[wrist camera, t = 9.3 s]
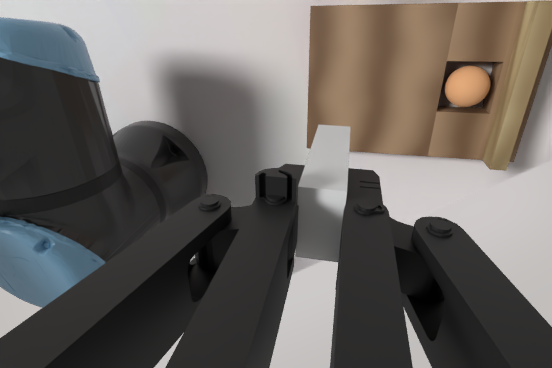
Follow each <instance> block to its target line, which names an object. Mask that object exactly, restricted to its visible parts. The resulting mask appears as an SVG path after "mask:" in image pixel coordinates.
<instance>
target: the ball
mask: <svg viewBox="0 0 552 368" xmlns="http://www.w3.org/2000/svg"><path fill="white" fill-rule="evenodd" d="M489 89H490V78H489V76H488V74H487V73H486V71H485V70H483V69H482V68H480V67H477V66H464V67H461V68H459V69H457V70H455V71H454V72H453V73H452V74H451V75H450V76H449V77H448V79H447V81H446V84H445V94H446V97H447V98H448V100H449V101H450V102H451V103H453V104H454V105H457V106H460V107H469V106H473V105H475V104H477V103H479V102H480V101H482V100H483V99H484V98H485V97H486V95H487V94H488V92H489Z"/></svg>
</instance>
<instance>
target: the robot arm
mask: <svg viewBox="0 0 552 368" xmlns="http://www.w3.org/2000/svg"><path fill="white" fill-rule="evenodd" d="M98 82H100V80H99V77H98V76H97V75H96V74H95V71H94V68H93V65H92V62H91V59H90V56H89V54H88V51H87V47H86V44H85V42H84V41H83V39H82V38H81V36H80V35H79V34H78V33H77V32H75V31H74V30H72V29H71V28H69V27H67V26H64V25H61V24H56V23H50V22H42V21H33V20H24V19H13V18H1V17H0V287H1V288H3V289H4V290H6V291H7V292H9V293H11V294H12V295H14V296H16V297H18V298H19V299H21V300H23V301H26V302H28V303H30V304H33V305H36V306H39V307H42V309H41V310H39V311H38V312H36V313H35V314H34V315H32V316H31V317H29V318H28V319H27V320H25V321H24V322H22V323H21V324H20V325H18V326H17V327H15V328H14V329H13V330H11V331H10V332H8V333H7V334H6V335H4V336H3V337H1V338H0V368H154V367H155V365H156V364H157V363H158V362H159V361H160V360H161V359H162V357H163V356H164V355H165V354H166V353H167V352H168V350H169V349H170V348H171V347H172V346H173V344H174V343H175V342H176V341H177V340H178V338H179V337H180V336H181V335H182V334H183V333H184V334H183V336H182V338H181V339H180V341H179V343H178V345H177V347H176V349H175V351H174V353H173V355H172V356H171V358H170V360H169V362H168V364H167V366H166V368H269V366H270V362H271V358H272V354H273V350H274V346H275V341H276V337H277V333H278V329H279V325H280V321H281V317H282V312H283V308H284V304H285V300H286V296H287V292H288V288H289V283H290V280H291V275H292V271H293V267H294V253H295V249H296V257H303V258H311V259H318V260H325V261H333V262H338V271H337V281H336V297H335V310H334V324H333V337H332V350H331V363H330V368H413V367H412V361H411V354H410V347H409V341H408V334H407V328H406V322H405V315H404V309H403V307H404V308H405V311H406V313H407V315H408V317H409V319H410V322H411V323H412V326H413V328H414V330H415V332H416V334H417V336H418V339H419V341H420V343H421V345H422V347H423V349H424V351H425V354H426V356H427V358H428V360H429V362H430V364H431V366H432V368H552V327H551V326H550V325H549V324H548V322H547V321H546V320H545V319H544V318H543V317H542V316H541V315H540V314H539V313H538V311H537V310H536V309H535V308H534V307H533V306H532V305H531V304H530V303H529V301H528V300H527V299H526V298H525V297H524V296H523V295H522V294H521V293H520V292H519V290H518V289H517V288H516V287H515V286H514V285H513V284H512V283H511V282H510V280H509V279H508V278H507V277H506V276H505V275H504V274H503V273H502V272H501V271H500V269H499V268H498V267H497V266H496V265H495V264H494V263H493V262H492V261H491V260H490V258H489V257H488V256H487V255H486V254H485V253H484V252H483V251H482V250H481V248H480V247H479V246H478V245H477V244H476V243H475V242H474V241H473V240H472V239H471V237H470V236H469V235H468V234H467V233H466V232H465V231H464V230H463V229H462V228H461V227H460V226H458V225H457V224H455V223H453V222H451V221H449V220H447V219H444V218H440V217H422V218H420V219H418V220H416V222H415V224H414V227H413V226H410V225H407V224H404V223H401V222H398V221H396V220H394V219H392V218H391V217H389V211H388V210H387V208H386V207H385V206H384V205H383V201H382V194H381V187H380V179H379V176H378V175H377V174H376V173H375V172H374V171H373V170H362V169H350V168H348V165H349V145H350V127H349V126H333V125H318V128H317V131H316V134H315V137H314V140H313V143H312V146H311V149H310V152H309V155H308V158H307V161H306V164H305V166H304V165H293V164H285V165H283V166H281V167H280V168H271V169H265V170H262V171H260V172H258V173H257V174H256V175H255V185H256V198H255V200H254V202H253V204H252V205H250V206H244V207H232V208H231V201H230V200H229V199H228V198H226V197H224V196H221V195H215V194H211V195H205V193H206V189H207V173H206V168H205V165H204V162H203V160H202V158H201V156H200V154H199V152H198V151H197V149H196V148H195V147H194V145H193V144H192V143H191V142H190V141H189V140H188V139H187V138H186V137H185V136H184V135H183V134H181V133H180V132H179V131H177V130H175V129H174V128H172V127H170V126H168V125H165V124H162V123H159V122H154V121H140V122H135V123H133V124H130V125H128V126H126V127H124V128H122V129H120V130H119V131H117V132H116V133H115V134H114V135H112V131H111V128H110V124H109V121H108V117H107V114H106V110H105V106H104V103H103V99H102V95H101V91H100V87H99V83H98ZM204 195H205V196H204ZM194 255H195V258H194V259H193V260H192V261H191V262H190V260H191V258H192V257H193V256H194Z"/></svg>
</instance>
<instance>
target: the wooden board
mask: <svg viewBox="0 0 552 368" xmlns="http://www.w3.org/2000/svg"><path fill="white" fill-rule="evenodd" d="M551 46H552V1H528V2H481V3H433V4H385V5H337V6H311V13H310V50H309V87H308V124H307V148H311V146H312V143H313V140H314V137H315V134H316V131H317V128H318V125H333V126H349V127H350V145H349V151H357V152H372V153H387V154H402V155H417V156H432V157H447V158H462V159H477V160H483V161H484V163H485V164H486V165H487V166H488V168H489V169H493V170H507V167H508V164H509V162H514V159H515V156H516V153H517V150H518V146H519V143H520V140H521V137H522V134H523V131H524V128H525V125H526V122H527V119H528V116H529V113H530V110H531V107H532V104H533V101H534V98H535V95H536V92H537V88H538V85H539V82H540V79H541V76H542V73H543V70H544V67H545V64H546V61H547V58H548V55H549V52H550V49H551ZM447 61H486V62H494V64H493V68H492V72H491V76H490V89H489V92H488V94H487V95H486V97H485V99H484V102H483V106H482V108H478V107H451V106H438V103H439V98H440V93H441V88H442V83H443V78H444V73H445V68H446V63H447Z"/></svg>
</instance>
